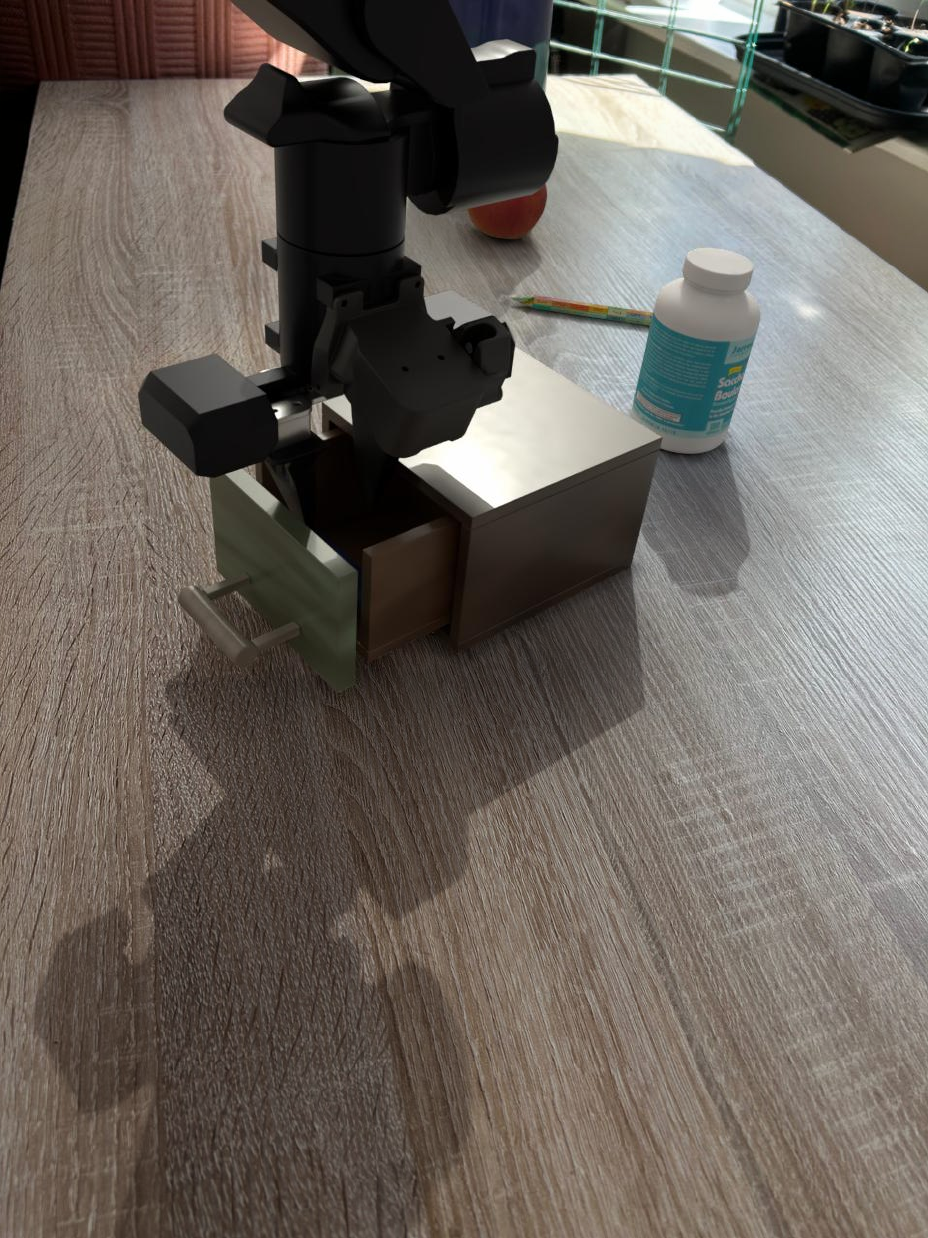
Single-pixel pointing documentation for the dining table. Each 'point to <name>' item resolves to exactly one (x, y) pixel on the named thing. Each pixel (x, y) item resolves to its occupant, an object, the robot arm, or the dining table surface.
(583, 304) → the pencil
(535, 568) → the cabinet
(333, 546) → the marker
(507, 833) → the dining table surface
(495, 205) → the apple
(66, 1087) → the dining table surface
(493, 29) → the vase
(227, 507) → the drawer
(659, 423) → the pill bottle
